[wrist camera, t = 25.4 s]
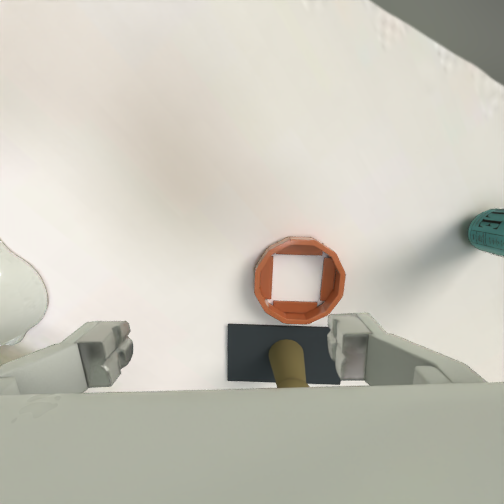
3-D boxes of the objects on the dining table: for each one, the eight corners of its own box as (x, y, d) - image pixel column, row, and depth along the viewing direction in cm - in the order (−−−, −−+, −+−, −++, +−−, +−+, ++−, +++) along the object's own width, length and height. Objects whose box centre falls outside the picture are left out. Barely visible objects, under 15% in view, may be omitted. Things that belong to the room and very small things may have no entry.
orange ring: (253, 315, 42) (253, 322, 40) (256, 235, 39) (256, 238, 36) (334, 318, 42) (339, 325, 40) (344, 238, 39) (350, 241, 36)
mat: (227, 378, 45) (227, 380, 45) (228, 323, 42) (227, 325, 42) (339, 382, 45) (340, 384, 44) (346, 327, 42) (347, 329, 42)
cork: (297, 334, 42) (311, 384, 32) (308, 364, 44) (325, 420, 33) (263, 345, 43) (266, 397, 32) (275, 373, 44) (281, 432, 33)
